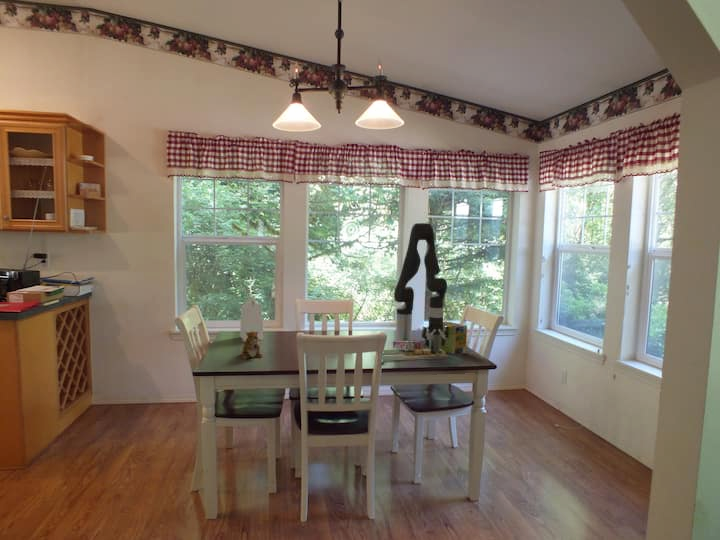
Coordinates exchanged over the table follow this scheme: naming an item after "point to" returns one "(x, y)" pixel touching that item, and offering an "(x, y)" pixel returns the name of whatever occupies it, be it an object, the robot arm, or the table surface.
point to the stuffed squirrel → (251, 346)
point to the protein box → (454, 338)
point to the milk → (251, 319)
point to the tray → (392, 357)
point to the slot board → (414, 357)
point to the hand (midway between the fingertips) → (435, 345)
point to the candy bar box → (409, 345)
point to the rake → (434, 344)
